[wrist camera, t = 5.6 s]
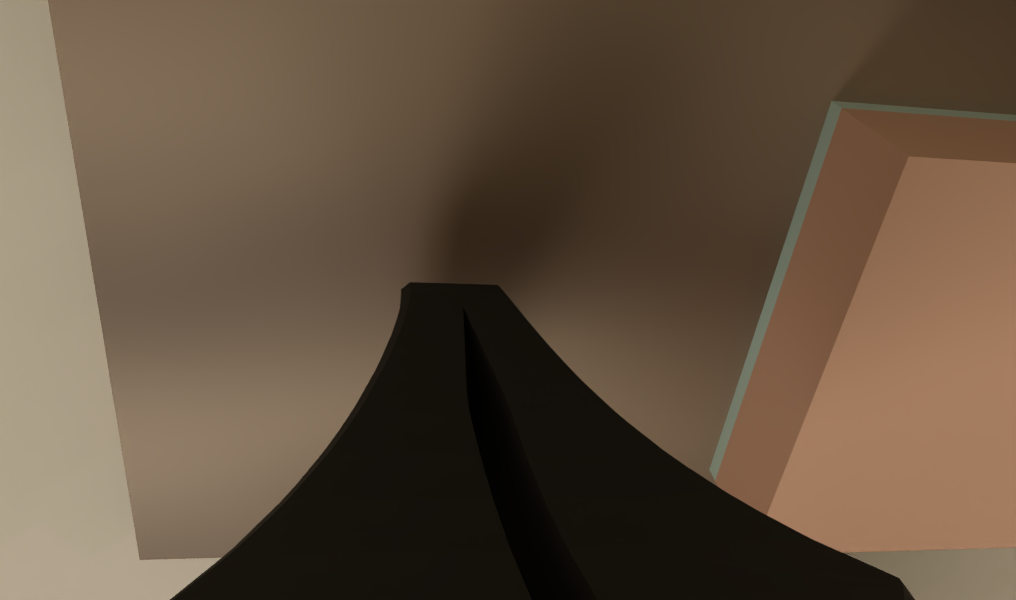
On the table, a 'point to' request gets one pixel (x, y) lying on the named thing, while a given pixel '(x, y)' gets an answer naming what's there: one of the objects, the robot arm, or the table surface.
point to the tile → (888, 341)
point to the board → (452, 201)
